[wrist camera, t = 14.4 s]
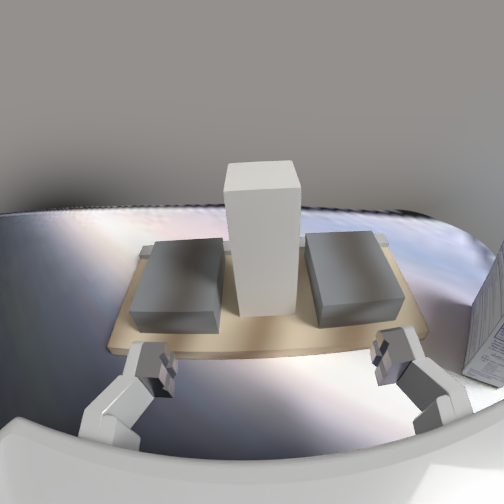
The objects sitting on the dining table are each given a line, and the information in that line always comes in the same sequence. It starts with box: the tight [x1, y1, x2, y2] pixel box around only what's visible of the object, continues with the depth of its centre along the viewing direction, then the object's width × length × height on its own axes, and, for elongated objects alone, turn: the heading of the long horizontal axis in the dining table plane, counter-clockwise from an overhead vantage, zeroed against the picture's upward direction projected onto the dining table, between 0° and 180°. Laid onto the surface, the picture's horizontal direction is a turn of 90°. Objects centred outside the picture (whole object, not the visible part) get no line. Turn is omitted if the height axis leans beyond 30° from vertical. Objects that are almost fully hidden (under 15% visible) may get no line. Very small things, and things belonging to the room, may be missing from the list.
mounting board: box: [107, 231, 429, 359], centre depth 23 cm, size 24×12×4 cm, turn 90°
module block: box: [223, 161, 301, 317], centre depth 20 cm, size 4×4×10 cm
